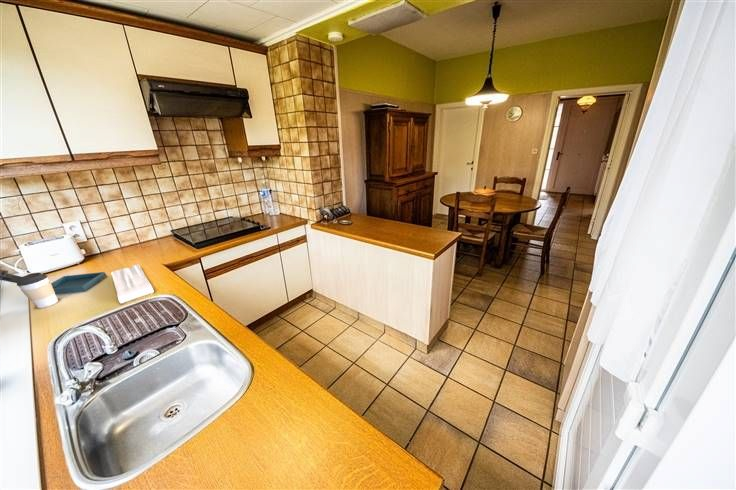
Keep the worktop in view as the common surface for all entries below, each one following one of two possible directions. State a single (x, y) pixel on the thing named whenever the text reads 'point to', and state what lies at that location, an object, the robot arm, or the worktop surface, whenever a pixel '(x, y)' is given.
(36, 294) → the coffee cup
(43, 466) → the worktop surface
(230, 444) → the worktop surface
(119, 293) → the hand towel
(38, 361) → the worktop surface
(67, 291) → the tray
